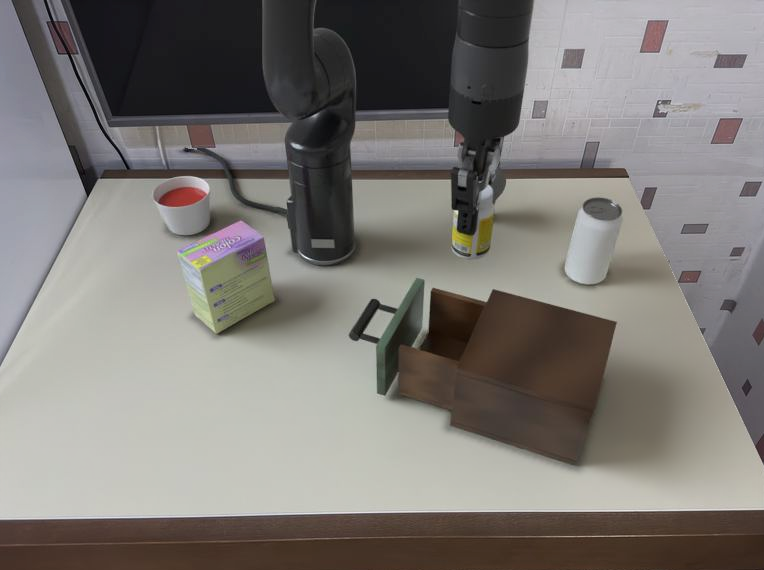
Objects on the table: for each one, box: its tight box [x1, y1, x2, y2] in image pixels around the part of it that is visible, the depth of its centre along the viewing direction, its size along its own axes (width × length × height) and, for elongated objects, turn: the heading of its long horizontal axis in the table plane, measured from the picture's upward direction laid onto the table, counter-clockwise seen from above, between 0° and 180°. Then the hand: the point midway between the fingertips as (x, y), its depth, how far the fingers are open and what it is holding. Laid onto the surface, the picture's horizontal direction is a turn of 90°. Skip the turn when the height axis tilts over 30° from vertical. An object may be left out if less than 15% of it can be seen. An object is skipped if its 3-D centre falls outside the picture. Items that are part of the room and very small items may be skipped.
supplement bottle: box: [451, 185, 496, 261], centre depth 80 cm, size 5×5×8 cm
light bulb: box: [490, 166, 507, 206], centre depth 112 cm, size 6×6×10 cm
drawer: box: [348, 277, 487, 411], centre depth 87 cm, size 20×14×9 cm
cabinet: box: [449, 288, 618, 467], centre depth 83 cm, size 16×15×11 cm
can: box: [564, 196, 623, 286], centre depth 101 cm, size 6×6×12 cm
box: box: [176, 220, 276, 335], centre depth 94 cm, size 10×6×12 cm, turn 135°
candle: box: [151, 175, 211, 236], centre depth 110 cm, size 9×9×6 cm
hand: (472, 219), depth 80 cm, fingers closed on supplement bottle, 4 cm apart
